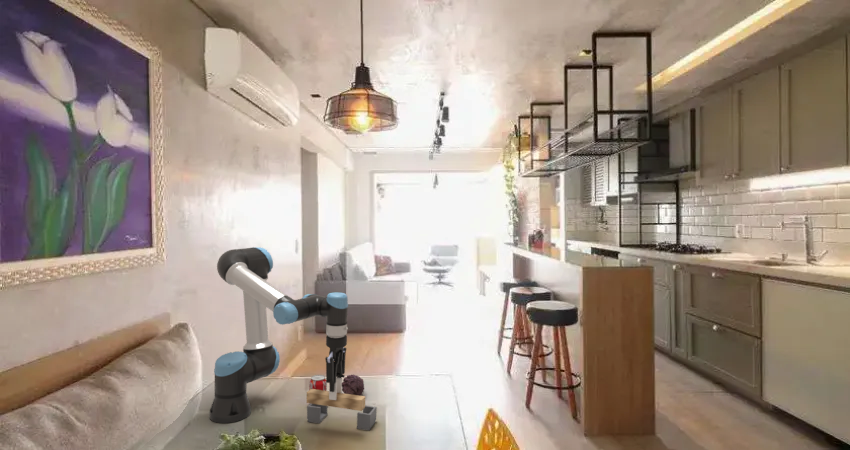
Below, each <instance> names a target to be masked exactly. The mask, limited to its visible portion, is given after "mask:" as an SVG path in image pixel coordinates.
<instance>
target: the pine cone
mask: <svg viewBox="0 0 850 450" xmlns="http://www.w3.org/2000/svg"><path fill="white" fill-rule="evenodd" d="M364 390H365V381H364V379H363V378H361V377H360V376H358V375H356V374H348V375H346V376H344V378H343V379H342V393H344V394H352V395H359V396H363V395H362V394H363V393H364Z"/></svg>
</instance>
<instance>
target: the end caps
mask: <svg viewBox="0 0 850 450" xmlns="http://www.w3.org/2000/svg"><path fill="white" fill-rule="evenodd" d="M356 415H357V416H356V429H357V430H364V431H370V430H371V429H372V427H373V426H374V425H375V423H376V420H377V406H373V405H366V404H365V408H364V409H363V410H362V412H361V411H358V412H357V414H356ZM327 416H328V406H325V405H318V404H311V403H310V404H309V403H308V405H307V407H306V420H307V422H309V423H315V424H321V422H322V421H324V420H325V418H326V417H327Z"/></svg>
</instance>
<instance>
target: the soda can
mask: <svg viewBox="0 0 850 450" xmlns="http://www.w3.org/2000/svg"><path fill="white" fill-rule="evenodd" d="M327 385H328V383H327V382H326V375H324V374H323V375H322V374H315V375H312V376H311V378H310V380H309V386H308V387H309V388H308V389H309V390H310V389H316V390H323V391H328V387H327ZM309 390H308V391H309ZM309 404H310V403H308V405H309Z"/></svg>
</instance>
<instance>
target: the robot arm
mask: <svg viewBox="0 0 850 450" xmlns="http://www.w3.org/2000/svg"><path fill="white" fill-rule="evenodd" d="M273 260H274V259H273V257H272V255H271V253H270V252H269V251H268V249H266V248H264V247H261V246H260V247H254V246H253V247H245V248H235V249H229V250H226V251H224V253H222V254H221V255H220V256H219V258H218V260H217V264H216V267H217V268H216V270H217V273H218V275H219V277H220V278H221V279H222V280H224V282H226V283H227V284H228V285H230V286H236V287H238V289H240V290H242V292H243V296H242V297H243V308H244V311H243V312H244V323H245V334H246V335H245V339H246V343H245V345H244V346H243V347H242V351H233V352H231V351H230V352H226V353H224V354H222V355H220V356H219V357H217V358H216V360H215V362H214V371H213V373H214V397H213V399H212V402H211V403H212V404H211V407H210V408H209V419H210V420H211V421H212V422H214V423H220V424H229V423H235V421H236V422H239V421H242V420H244V419H247V418H248V417H249V416H250V415H251V413H252V406H251V403H250V401H249V397H248V393H247V384H249V383H252V382H255V381H257V380H259V379H263V378H267V377H268V376H269V375H272V374H273V373H275V372H276V371H277V369H279V365H280V359H281V357H280V353H279V351H278V349H277V348H276V347H275V346H274V345H273V342H272V341H270V339H269V331H268V330H269V329H268V327H269V326H268V317H267V316H268V314H267V309H268V310H270V311H271V312H272V314H273V315H272V316H273V318H274V319H275V322H276V323H277V324H279V325H282V326H283V325H289V324H293V323H296V322H300V321H302V320H306V319H310V318H314V317H322V318H326V325H325V326H326V332H325V334H326V340H325V345H326V347H328V348H329V352H328V356H325V358H324V359H325V371H326V372H325V374H326V375H325V379H326V382H327V384H329V386H328V388H329V389H328V391H329V399H330V400H337V393H343V391H342V382H343V379H344V378H345V377H346V376H345V373H346V354H347V347H346V346H347V343H348V336H347V334H348V330H349V328H348V309H349V301H348V300H349V299H348V295H347V294H346V293H344V292H337V291H336V292H330V293H328V294H327V295H326V296H323V295H318V294H316V293H314V294H313V293H312V294H311V293H307V294H305V295H303V296H302V297H301V298H299V299H298V298H297V299H293V298H292V297H290V296H288V295H287V294H286V293H285V292H283V291H281V289H278V288H277V287H276V286H274V285H272V284H271V283H270V282H268V280H269V273H271V272H272V269H273V266H274V261H273Z"/></svg>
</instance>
